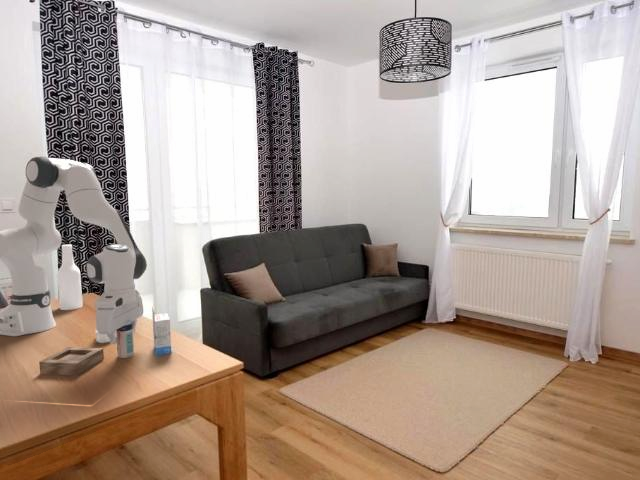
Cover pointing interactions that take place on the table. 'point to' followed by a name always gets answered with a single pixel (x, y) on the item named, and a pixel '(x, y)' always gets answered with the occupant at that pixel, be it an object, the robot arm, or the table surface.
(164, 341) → the ink box
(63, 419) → the table surface
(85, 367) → the brown square tray
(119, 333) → the beer can
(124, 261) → the robot arm
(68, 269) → the alcohol
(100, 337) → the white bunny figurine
